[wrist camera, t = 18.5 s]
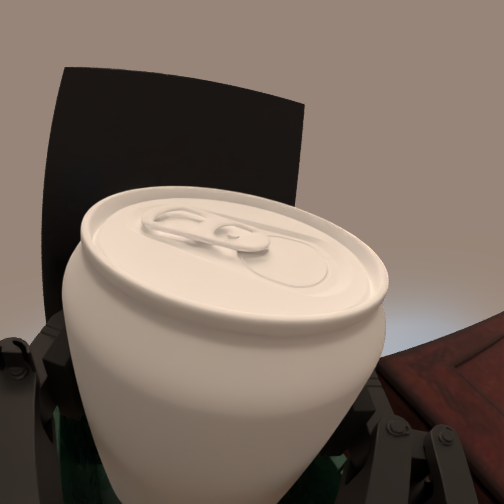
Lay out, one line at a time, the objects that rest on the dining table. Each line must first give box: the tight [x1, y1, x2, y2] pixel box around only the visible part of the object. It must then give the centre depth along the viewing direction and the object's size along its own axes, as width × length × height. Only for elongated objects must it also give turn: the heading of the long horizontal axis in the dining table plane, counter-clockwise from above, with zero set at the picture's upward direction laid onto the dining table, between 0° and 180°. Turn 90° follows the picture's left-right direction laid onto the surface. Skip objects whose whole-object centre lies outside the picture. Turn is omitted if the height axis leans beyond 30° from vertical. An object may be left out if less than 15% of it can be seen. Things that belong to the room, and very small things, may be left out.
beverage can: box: [62, 186, 389, 504], centre depth 10 cm, size 8×8×12 cm
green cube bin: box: [53, 406, 347, 504], centre depth 14 cm, size 14×14×14 cm
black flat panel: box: [41, 67, 305, 323], centre depth 16 cm, size 15×14×1 cm
